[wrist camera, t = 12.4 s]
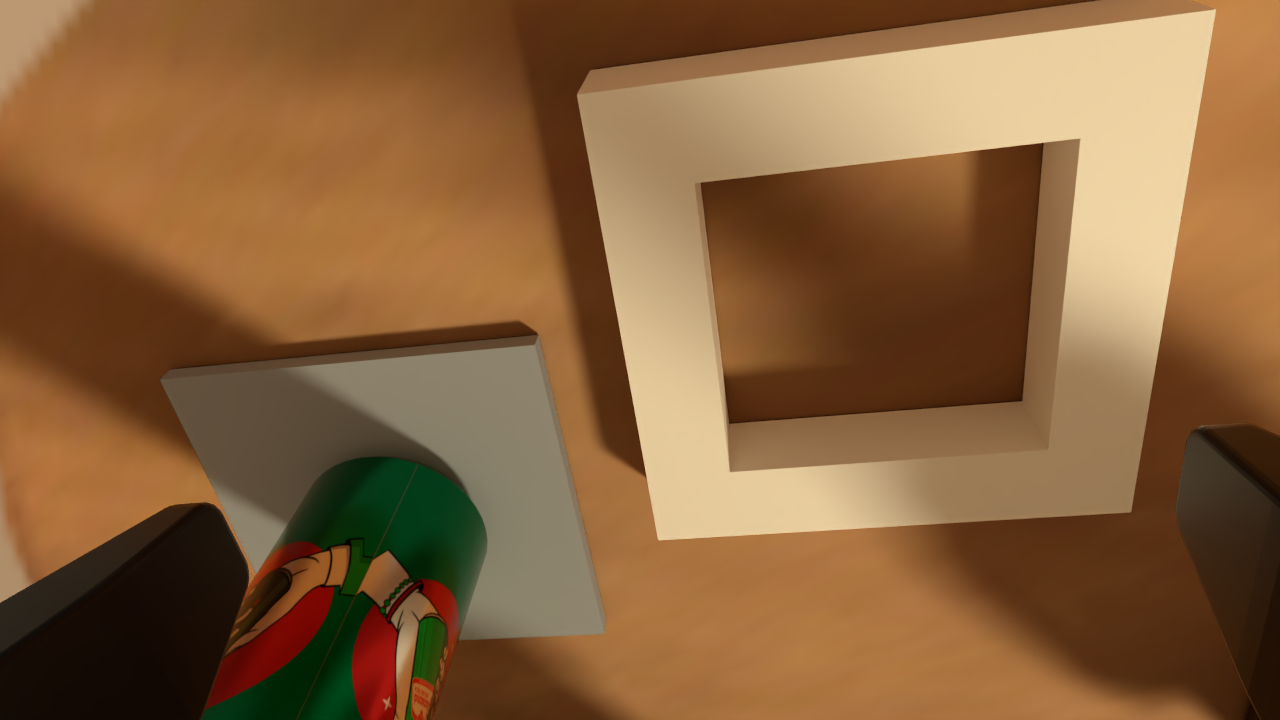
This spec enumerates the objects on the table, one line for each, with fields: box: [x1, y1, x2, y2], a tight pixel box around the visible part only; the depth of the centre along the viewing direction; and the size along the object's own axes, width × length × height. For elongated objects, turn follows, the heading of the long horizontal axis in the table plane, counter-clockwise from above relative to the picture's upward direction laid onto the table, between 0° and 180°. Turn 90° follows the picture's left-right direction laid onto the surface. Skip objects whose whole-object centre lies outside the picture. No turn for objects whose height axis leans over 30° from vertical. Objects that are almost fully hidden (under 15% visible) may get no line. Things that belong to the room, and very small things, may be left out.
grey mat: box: [160, 335, 606, 640], centre depth 25 cm, size 10×10×1 cm
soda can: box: [201, 456, 488, 720], centre depth 19 cm, size 5×5×12 cm
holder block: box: [577, 0, 1216, 540], centre depth 20 cm, size 11×11×2 cm
